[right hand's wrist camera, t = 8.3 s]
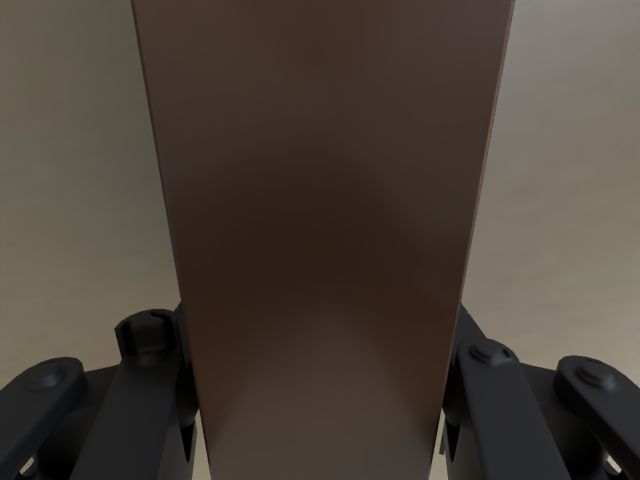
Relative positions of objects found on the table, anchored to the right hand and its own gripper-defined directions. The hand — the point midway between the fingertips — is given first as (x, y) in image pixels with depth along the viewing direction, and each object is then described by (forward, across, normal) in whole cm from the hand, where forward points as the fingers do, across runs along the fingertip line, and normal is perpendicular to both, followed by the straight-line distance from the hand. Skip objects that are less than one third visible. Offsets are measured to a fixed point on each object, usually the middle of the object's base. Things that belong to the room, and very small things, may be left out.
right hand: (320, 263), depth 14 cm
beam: (-1, 0, +13) cm, 13 cm away
